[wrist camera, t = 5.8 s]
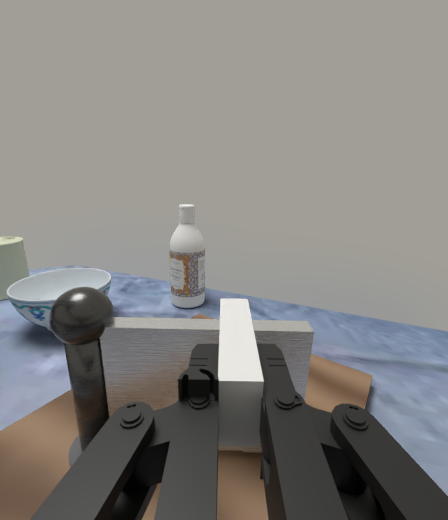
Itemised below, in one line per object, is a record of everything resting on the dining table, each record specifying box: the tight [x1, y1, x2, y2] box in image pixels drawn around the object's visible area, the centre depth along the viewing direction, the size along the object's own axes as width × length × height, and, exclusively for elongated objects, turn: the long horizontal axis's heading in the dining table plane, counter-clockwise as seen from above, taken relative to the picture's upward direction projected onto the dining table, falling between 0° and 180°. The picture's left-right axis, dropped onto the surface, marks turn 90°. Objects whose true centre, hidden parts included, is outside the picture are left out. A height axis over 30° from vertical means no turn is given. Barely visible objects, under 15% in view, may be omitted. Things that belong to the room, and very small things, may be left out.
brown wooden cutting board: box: [0, 314, 372, 520], centre depth 28 cm, size 34×28×2 cm
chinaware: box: [7, 268, 111, 332], centre depth 47 cm, size 15×15×8 cm
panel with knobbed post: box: [49, 287, 314, 451], centre depth 22 cm, size 20×4×14 cm, turn 90°
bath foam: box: [170, 205, 205, 308], centre depth 55 cm, size 7×7×20 cm
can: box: [0, 237, 29, 300], centre depth 59 cm, size 9×9×12 cm
